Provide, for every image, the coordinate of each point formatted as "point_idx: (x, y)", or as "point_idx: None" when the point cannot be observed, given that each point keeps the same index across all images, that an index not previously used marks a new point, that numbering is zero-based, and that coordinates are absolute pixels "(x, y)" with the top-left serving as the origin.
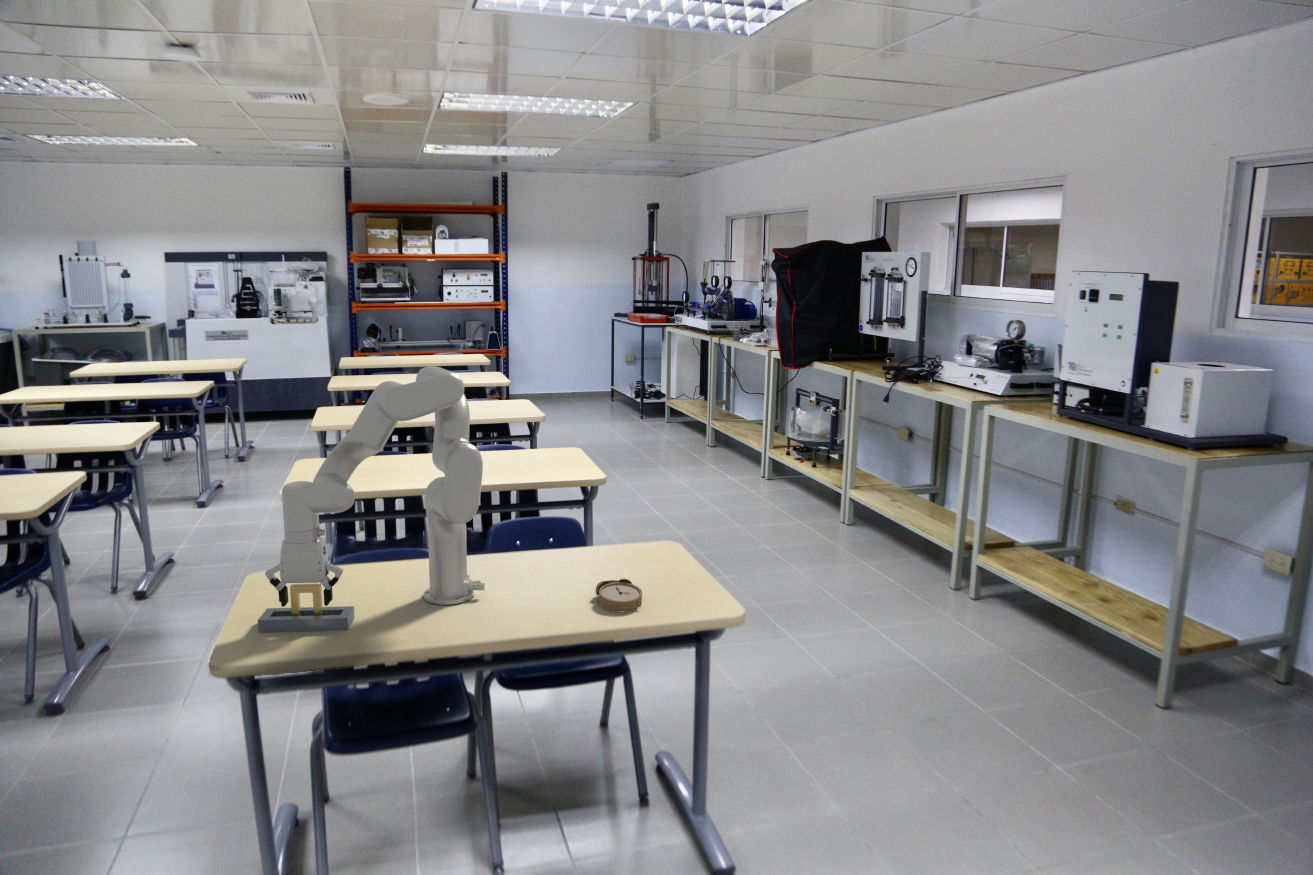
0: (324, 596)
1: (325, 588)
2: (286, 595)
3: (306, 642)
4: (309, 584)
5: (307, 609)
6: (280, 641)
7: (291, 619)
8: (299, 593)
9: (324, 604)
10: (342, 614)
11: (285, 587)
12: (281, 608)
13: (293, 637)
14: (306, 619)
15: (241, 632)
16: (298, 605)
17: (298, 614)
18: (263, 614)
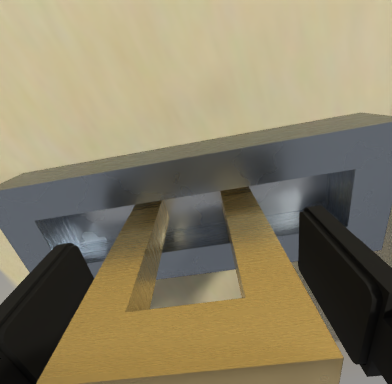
0: (331, 317)
1: (379, 365)
2: (59, 304)
3: (241, 296)
4: (217, 377)
5: (173, 186)
6: (169, 297)
7: (161, 278)
8: (133, 292)
9: (302, 272)
10: (356, 220)
11: (5, 361)
12: (43, 188)
13: (191, 276)
14: (216, 271)
15: (21, 263)
16: (157, 267)
17: (163, 239)
18: (21, 252)
